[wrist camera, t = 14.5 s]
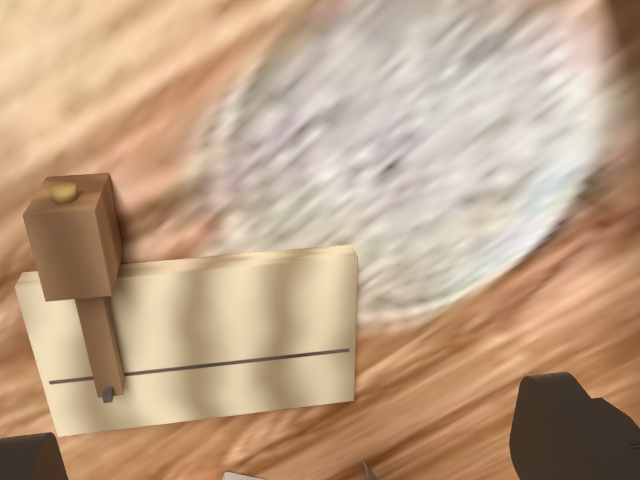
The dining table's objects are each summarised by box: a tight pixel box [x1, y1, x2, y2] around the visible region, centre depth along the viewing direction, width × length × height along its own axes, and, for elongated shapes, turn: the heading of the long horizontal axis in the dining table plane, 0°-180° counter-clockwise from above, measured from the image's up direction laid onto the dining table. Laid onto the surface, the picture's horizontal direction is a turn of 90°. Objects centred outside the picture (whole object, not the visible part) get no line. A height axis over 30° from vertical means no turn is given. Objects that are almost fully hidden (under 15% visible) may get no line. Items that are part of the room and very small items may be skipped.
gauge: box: [23, 173, 126, 403], centre depth 41 cm, size 4×17×6 cm, turn 1°
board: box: [15, 245, 358, 437], centre depth 47 cm, size 24×14×2 cm, turn 91°
